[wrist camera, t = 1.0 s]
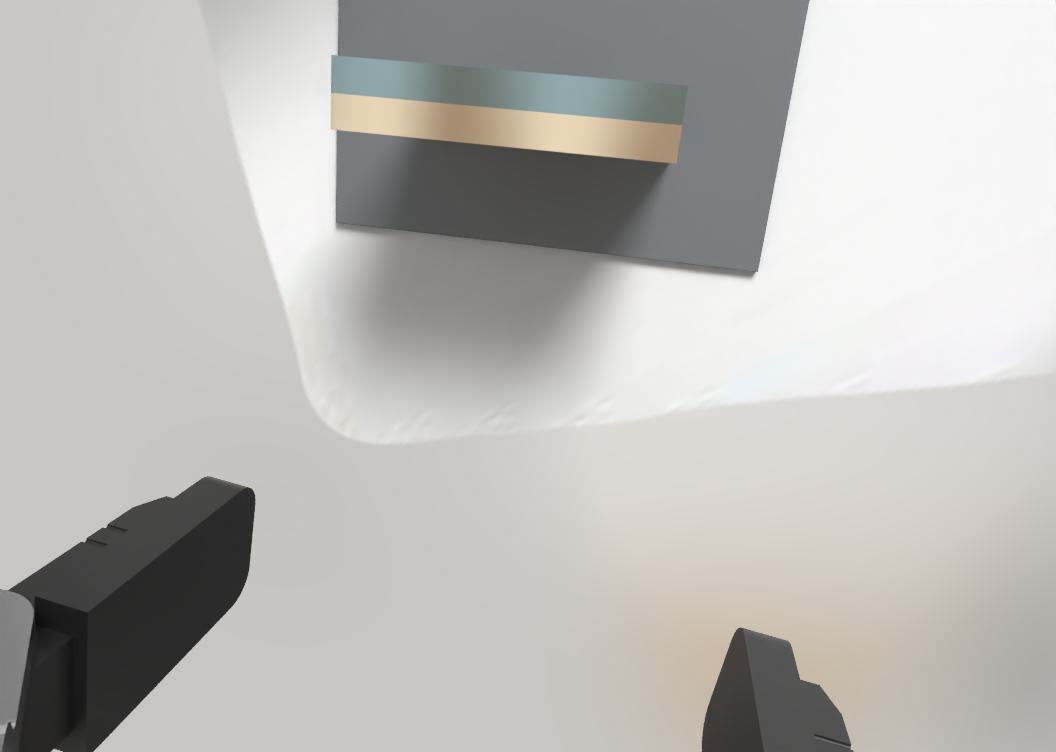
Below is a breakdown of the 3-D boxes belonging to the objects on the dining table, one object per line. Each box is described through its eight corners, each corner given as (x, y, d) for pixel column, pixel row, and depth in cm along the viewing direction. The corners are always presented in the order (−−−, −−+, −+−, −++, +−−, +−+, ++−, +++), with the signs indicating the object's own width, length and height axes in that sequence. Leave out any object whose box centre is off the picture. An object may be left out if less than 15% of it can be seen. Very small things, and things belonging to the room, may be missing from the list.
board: (678, 108, 35) (688, 85, 23) (670, 160, 35) (676, 163, 24) (433, 86, 36) (331, 55, 25) (431, 137, 37) (330, 129, 26)
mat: (846, -207, 30) (849, -211, 30) (756, 270, 37) (757, 271, 36) (345, -223, 33) (341, -227, 33) (339, 221, 39) (336, 222, 39)
